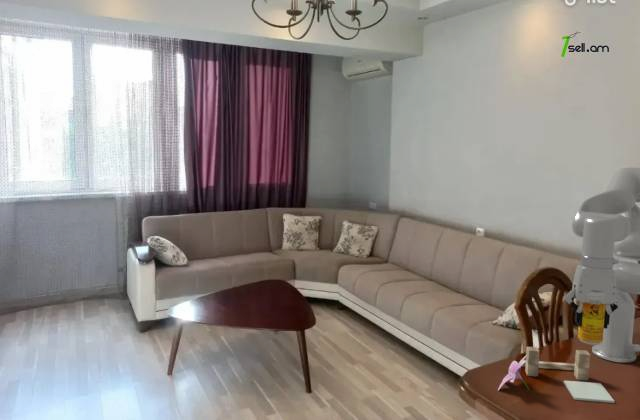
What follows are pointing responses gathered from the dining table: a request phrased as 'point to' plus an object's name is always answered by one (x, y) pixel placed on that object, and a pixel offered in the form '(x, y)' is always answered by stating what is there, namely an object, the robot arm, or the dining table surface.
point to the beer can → (593, 318)
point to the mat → (588, 391)
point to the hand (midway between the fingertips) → (591, 325)
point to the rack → (579, 367)
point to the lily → (514, 372)
